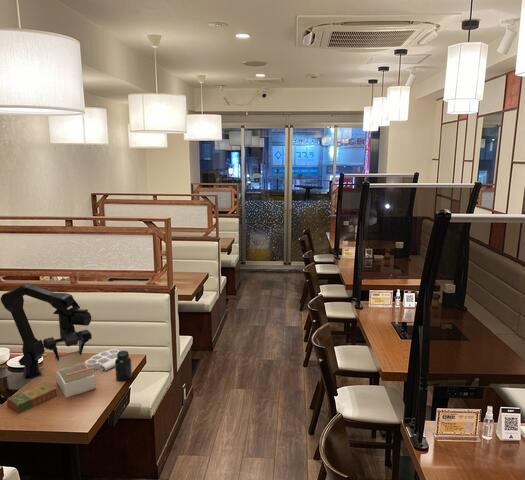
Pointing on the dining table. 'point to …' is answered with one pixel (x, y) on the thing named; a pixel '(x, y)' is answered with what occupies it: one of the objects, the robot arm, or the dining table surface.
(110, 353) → the white egg tray
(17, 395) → the carton
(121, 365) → the supplement bottle
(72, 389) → the crate
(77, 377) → the flap
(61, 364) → the flap
